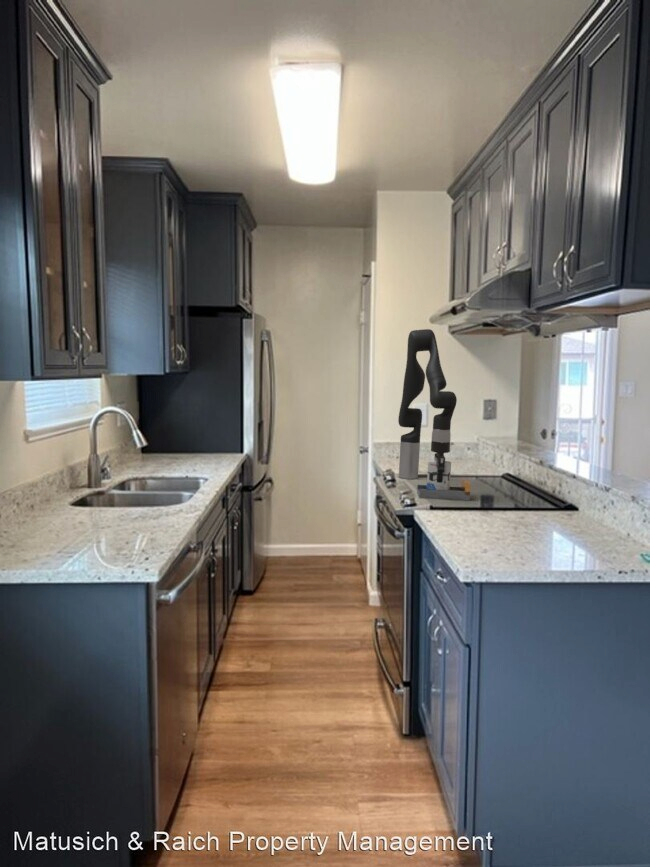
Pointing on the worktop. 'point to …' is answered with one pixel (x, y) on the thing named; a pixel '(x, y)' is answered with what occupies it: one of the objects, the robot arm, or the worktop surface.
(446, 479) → the ink box
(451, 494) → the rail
